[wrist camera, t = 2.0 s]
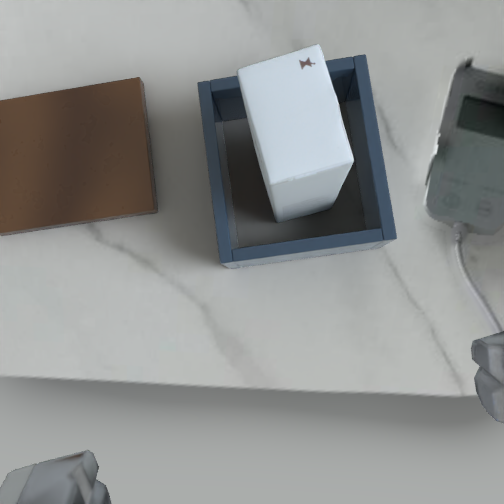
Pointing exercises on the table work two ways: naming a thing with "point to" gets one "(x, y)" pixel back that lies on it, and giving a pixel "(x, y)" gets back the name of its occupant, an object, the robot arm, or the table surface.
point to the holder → (366, 159)
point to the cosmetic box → (296, 131)
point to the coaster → (75, 157)
